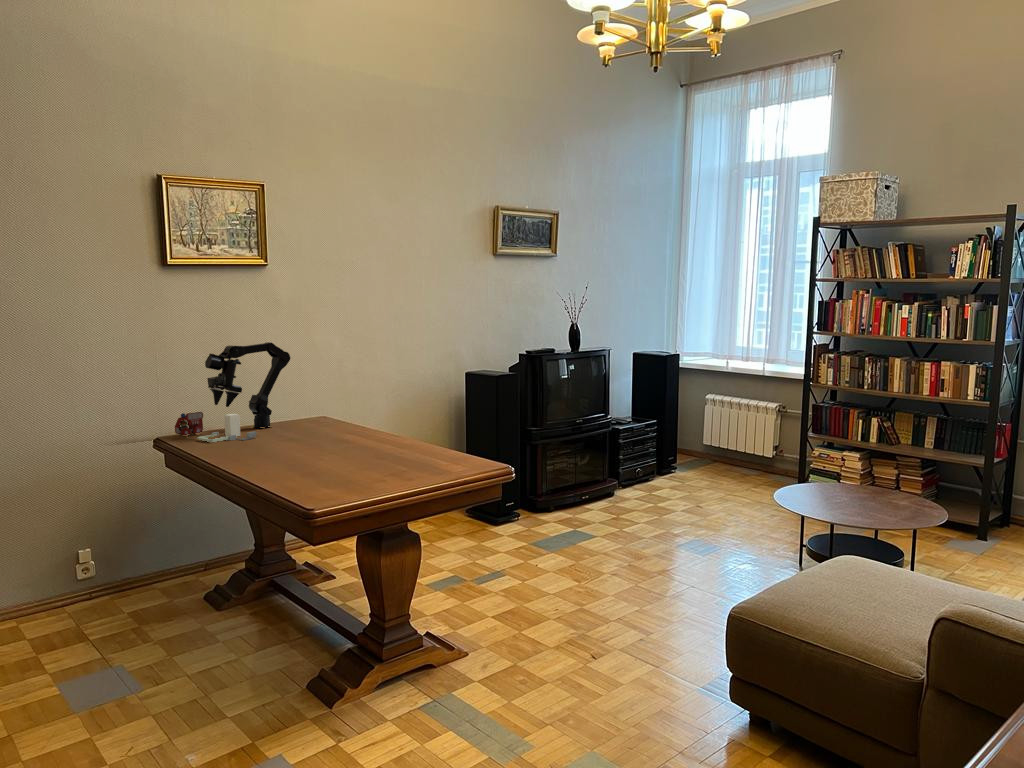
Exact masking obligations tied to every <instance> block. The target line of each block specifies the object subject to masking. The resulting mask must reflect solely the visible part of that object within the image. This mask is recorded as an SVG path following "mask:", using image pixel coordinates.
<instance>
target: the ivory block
mask: <svg viewBox="0 0 1024 768" xmlns="http://www.w3.org/2000/svg"><path fill="white" fill-rule="evenodd" d="M223 420H224V433H225V435H224V437H225V436H230V435H236V438H238V437H237V436H241V424H240V422H241V419H240V414H238V413H229V414H228V413H227V414H224V415H223Z"/></svg>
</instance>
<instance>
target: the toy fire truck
mask: <svg viewBox="0 0 1024 768" xmlns="http://www.w3.org/2000/svg"><path fill="white" fill-rule="evenodd" d="M203 418H204V413H203V412H202V411H198V412H197V411H196V412H189V413H181V414H180V417H178V418H177V420H176V422H175V425H174V432H175V434H176V435H179V436H182V435H187V434H190V435H191V434H192V433H200V432H202V433H203V430H204V424H203V421H204V420H203Z"/></svg>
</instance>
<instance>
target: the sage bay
mask: <svg viewBox="0 0 1024 768" xmlns="http://www.w3.org/2000/svg"><path fill="white" fill-rule="evenodd" d="M214 436H217V434H213V435H211V434H209V435H202V436H197V437H196V440H197V439H199V440H202V441H207V442H210V443H209V444H212V443H211V442H214V443H218V442H217V441H220V442H224V441H223V440H226V441H230V440H229V437H228V436H226V437H225V436H221V437H220V438H215V439H208V438H209V437H214ZM202 441H201V442H202ZM207 442H206V443H207Z"/></svg>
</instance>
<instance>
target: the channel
mask: <svg viewBox="0 0 1024 768" xmlns="http://www.w3.org/2000/svg"><path fill="white" fill-rule="evenodd" d="M213 434H217V435H219V431H215V432H211V433H210V435H213ZM228 437H229V440H228V441H230V440H231V441H236V440H238V441H243V442H245V441H249V440H255V439H256V437H257V431H250V432H246V437H238V438H237V437H236V435H230V436H228Z"/></svg>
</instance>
